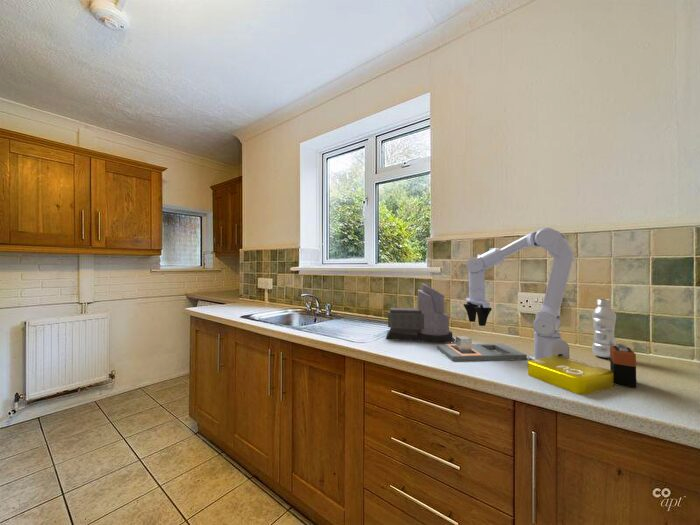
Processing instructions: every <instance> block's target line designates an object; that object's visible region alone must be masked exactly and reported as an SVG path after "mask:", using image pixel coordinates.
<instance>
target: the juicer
mask: <svg viewBox="0 0 700 525" xmlns="http://www.w3.org/2000/svg"><path fill="white" fill-rule="evenodd" d="M444 299H445V295H444V294H443V293H441V292H439V291H438V290H436V289H434V288H433V287H431V286H429V285H427V284H425V283H421V289H417V307H390V309H389V310H388V312H387V324H388V325H387V327H388V328H390V329H389V330H388V332H387V333H386V337H385V340H386V339H387V340H388V341H393V340H394V341H411V342H423V343H429V344H452V343H451V342H453V343H455V342H456V338H455V337H453V332H452V331H450V317H449V315H448V314H447V313H445V311H444V304H445V303H444ZM454 338H455V339H454ZM454 341H455V342H454Z"/></svg>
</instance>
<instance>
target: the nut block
mask: <svg viewBox="0 0 700 525" xmlns="http://www.w3.org/2000/svg"><path fill="white" fill-rule="evenodd" d="M472 342H473V341H472V338H471V337H469V336H467V335H456V336H455V344H456V350H457V351H459V352H460V353H462V354H471V353H472V344H473V343H472Z"/></svg>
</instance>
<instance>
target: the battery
mask: <svg viewBox="0 0 700 525" xmlns="http://www.w3.org/2000/svg"><path fill="white" fill-rule="evenodd" d="M615 345H616V346H610V358H609V360H610V361H609V363H610V364H609V365H610V366H609V367H610V368H609V370H611V371H613V372H614V385H616V386H619V387H626V388H631V389H636V388H637V356H636V355H637V354H636V353H635V352H634V351H633V349H632V348H631V347H628V346H627V344H624V343H615Z"/></svg>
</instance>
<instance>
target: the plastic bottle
mask: <svg viewBox="0 0 700 525" xmlns="http://www.w3.org/2000/svg"><path fill="white" fill-rule="evenodd" d="M596 305H597V306H596V307H595V308H594V310H592V313H591V318H592V324H593V342H592V345H591V346H592V347H591V350H592V353H593V355H595V356H597V357H601V358H604V359H610V346H617V345H616V340H615V328H616V323H617V314H616V312H615V311H614V309H613V308H612V307H611V306H612V304H611V299H608V298H607V299H604V298H597V299H596Z"/></svg>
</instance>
